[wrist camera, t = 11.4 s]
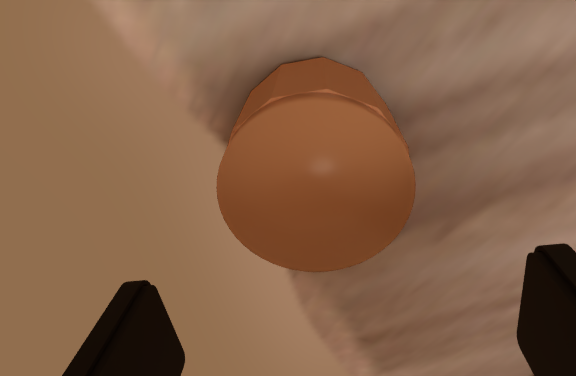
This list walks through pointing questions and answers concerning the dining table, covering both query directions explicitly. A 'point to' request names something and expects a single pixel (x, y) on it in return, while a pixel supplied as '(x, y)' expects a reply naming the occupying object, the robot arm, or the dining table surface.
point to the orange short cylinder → (315, 169)
